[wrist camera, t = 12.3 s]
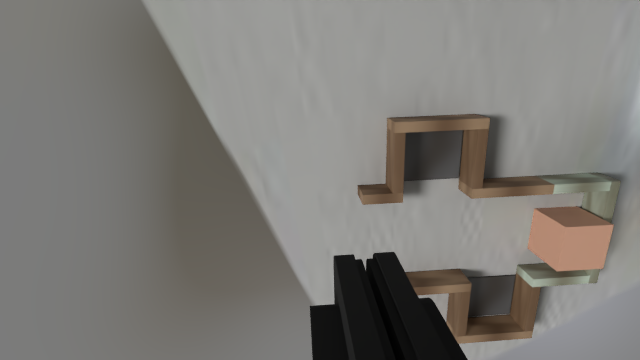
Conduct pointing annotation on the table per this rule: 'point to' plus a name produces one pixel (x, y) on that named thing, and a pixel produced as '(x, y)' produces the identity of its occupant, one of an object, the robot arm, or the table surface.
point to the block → (569, 238)
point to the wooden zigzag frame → (443, 163)
